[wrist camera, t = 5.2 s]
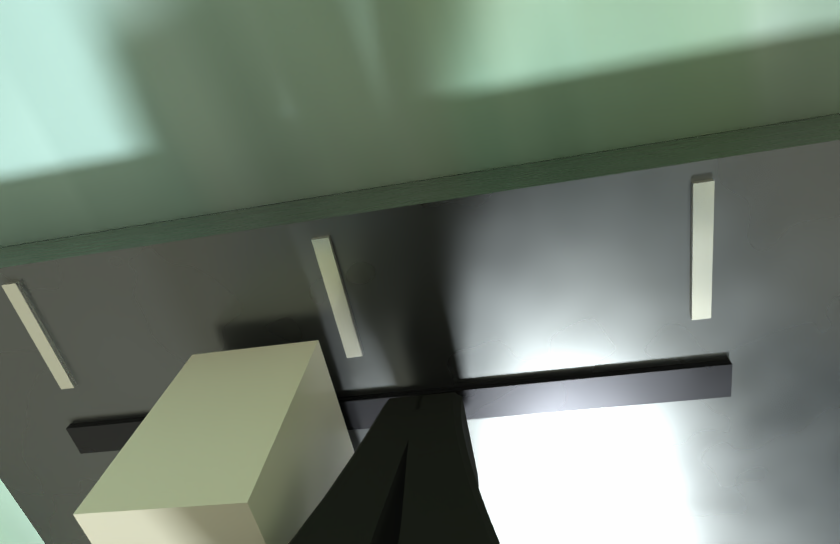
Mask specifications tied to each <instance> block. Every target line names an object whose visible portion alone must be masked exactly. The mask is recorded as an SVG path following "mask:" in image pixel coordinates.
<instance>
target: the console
mask: <svg viewBox="0 0 840 544" xmlns="http://www.w3.org/2000/svg"><path fill="white" fill-rule="evenodd" d="M315 340H319V344H320V347H321V350H322V353H323V356H324V359H325V362H326V365H327V368H328V371H329V375H330V378H331V381H332V384H333V387H334V390H335V393H336V396H337V399H338V403H339V406H340V409H341V412H342V415H343V418H344V421H345V424H346V427H347V430H348V434H349V437H350V440H351V443H352V446H353V449H354V452H355V451H356V449H357V448H358V446H359V445H360V443H361V442H362V440H363V438H364V437H365V435H366V434H367V432H368V430H369V429H370V427H371V426H372V424H373V422H374V421H375V419H376V418H377V416H378V414H379V413H380V411H381V409H382V408H383V406H384V405H385V403H386V402H387V401H388V400H389V399H390V398H398V397H409V396H419V395H430V394H440V393H451V392H455V393H457V394H458V395H460V396H461V397H462V398H463V403H464V408H465V413H466V418H467V423H468V428H469V433H470V438H471V443H472V448H473V453H474V458H475V463H476V468H477V473H478V482H479V491H480V493H481V496H482V499H483V502H484V504H485V507H486V510H487V512H488V515H489V517H490V520H491V522H492V525H493V527H494V530H495V532H496V535H497V537H498V539H499V542H500V544H840V114H836V115H830V116H823V117H817V118H811V119H805V120H798V121H792V122H786V123H780V124H773V125H767V126H761V127H755V128H748V129H742V130H736V131H729V132H723V133H717V134H711V135H704V136H698V137H692V138H686V139H679V140H673V141H667V142H660V143H654V144H648V145H642V146H635V147H629V148H623V149H617V150H610V151H604V152H598V153H591V154H585V155H579V156H573V157H566V158H560V159H554V160H548V161H541V162H535V163H529V164H522V165H516V166H510V167H504V168H497V169H491V170H485V171H479V172H472V173H466V174H460V175H453V176H447V177H441V178H435V179H428V180H422V181H416V182H410V183H403V184H397V185H391V186H384V187H378V188H372V189H366V190H359V191H353V192H347V193H341V194H334V195H328V196H322V197H315V198H309V199H303V200H297V201H290V202H284V203H278V204H272V205H265V206H259V207H253V208H246V209H240V210H234V211H228V212H221V213H215V214H209V215H203V216H196V217H190V218H184V219H177V220H171V221H165V222H159V223H152V224H146V225H140V226H134V227H127V228H121V229H115V230H108V231H102V232H96V233H90V234H83V235H77V236H71V237H65V238H58V239H52V240H46V241H39V242H33V243H27V244H21V245H14V246H8V247H2V248H0V479H1V480H2V482H3V483H4V484H5V486H6V487H7V489H8V490H9V492H10V493H11V495H12V496H13V497H14V499H15V500H16V502H17V503H18V505H19V506H20V508H21V509H22V511H23V512H24V513H25V515H26V516H27V518H28V519H29V521H30V522H31V524H32V525H33V526H34V528H35V529H36V531H37V532H38V534H39V535H40V537H41V538H42V540H43V541H44V542H45V544H91V542H90V540H89V539H88V537H87V536H86V534H85V533H84V531H83V529H82V528H81V526H80V525H79V523H78V522H77V520H76V518H75V517H74V515H73V514H74V512H75V511H76V510H77V508H78V507H79V506H80V504H81V503H82V502H83V500H84V499H85V498H86V496H87V495H88V494H89V492H90V491H91V489H92V488H93V487H94V485H95V484H96V483H97V481H98V480H99V479H100V477H101V476H102V475H103V473H104V472H105V471H106V469H107V468H108V467H109V465H110V464H111V463H112V461H113V460H114V459H115V457H116V456H117V455H118V453H119V452H120V451H121V449H122V448H123V447H124V445H125V444H126V443H127V441H128V440H129V439H130V437H131V436H132V435H133V433H134V432H135V431H136V429H137V428H138V426H139V425H140V424H141V422H142V421H143V420H144V418H145V417H146V416H147V414H148V413H149V412H150V410H151V409H152V408H153V406H154V405H155V404H156V402H157V401H158V400H159V398H160V397H161V396H162V394H163V393H164V392H165V390H166V389H167V388H168V386H169V385H170V384H171V382H172V381H173V380H174V378H175V377H176V376H177V374H178V373H179V372H180V370H181V369H182V368H183V366H184V365H185V363H186V362H187V361H188V359H189V358H190V357H191V355H194V354H203V353H212V352H220V351H229V350H238V349H246V348H255V347H263V346H272V345H281V344H289V343H298V342H307V341H315Z"/></svg>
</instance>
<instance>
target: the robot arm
mask: <svg viewBox="0 0 840 544" xmlns="http://www.w3.org/2000/svg"><path fill="white" fill-rule="evenodd" d="M288 544H500V542H499V539H498V537H497V535H496V532H495V530H494V527H493V525H492V522H491V520H490V517H489V515H488V512H487V510H486V507H485V504H484V502H483V499H482V496H481V493H480V491H479V482H478V473H477V468H476V463H475V458H474V453H473V448H472V443H471V438H470V433H469V428H468V423H467V418H466V413H465V408H464V403H463V398H462V397H461V396H460V395H458V394H457V393H455V392H451V393H440V394H430V395H419V396H409V397H398V398H390V399H389V400H388V401H387V402H386V403H385V405H384V406H383V408H382V409H381V411H380V413H379V414H378V416H377V418H376V419H375V421H374V422H373V424H372V426H371V427H370V429H369V430H368V432H367V434H366V435H365V437H364V438H363V440H362V442H361V443H360V445H359V446H358V448H357V449H356V451H355V452H354V454H353V455H352V457H351V458H350V460H349V461H348V463H347V464H346V466H345V467H344V469H343V470H342V472H341V473H340V475H339V476H338V477H337V479H336V480H335V482H334V483H333V485H332V486H331V488H330V489H329V491H328V492H327V493H326V495H325V496H324V498H323V499H322V500H321V502H320V503H319V504H318V506H317V507H316V508H315V510H314V511H313V512H312V513H311V515H310V516H309V517H308V519H307V520H306V521H305V523H304V524H303V525H302V527H301V528H300V529H299V531H298V532H297V533H296V534H295V536H294V537H293V538H292V540H291V541H290V542H289V543H288Z"/></svg>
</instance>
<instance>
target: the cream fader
mask: <svg viewBox="0 0 840 544" xmlns="http://www.w3.org/2000/svg"><path fill="white" fill-rule="evenodd" d="M353 454H354V449H353V446H352V443H351V440H350V437H349V434H348V430H347V427H346V424H345V421H344V418H343V415H342V412H341V409H340V406H339V403H338V399H337V396H336V393H335V390H334V387H333V384H332V381H331V378H330V375H329V371H328V368H327V365H326V362H325V359H324V356H323V353H322V350H321V347H320V344H319V340H315V341H307V342H298V343H289V344H281V345H272V346H263V347H255V348H246V349H238V350H229V351H220V352H212V353H203V354H194V355H191V357H190V358H189V359H188V361H187V362H186V363H185V365H184V366H183V368H182V369H181V370H180V372H179V373H178V374H177V376H176V377H175V378H174V380H173V381H172V382H171V384H170V385H169V386H168V388H167V389H166V390H165V392H164V393H163V394H162V396H161V397H160V398H159V400H158V401H157V402H156V404H155V405H154V406H153V408H152V409H151V410H150V412H149V413H148V414H147V416H146V417H145V418H144V420H143V421H142V422H141V424H140V425H139V426H138V428H137V429H136V431H135V432H134V433H133V435H132V436H131V437H130V439H129V440H128V441H127V443H126V444H125V445H124V447H123V448H122V449H121V451H120V452H119V453H118V455H117V456H116V457H115V459H114V460H113V461H112V463H111V464H110V465H109V467H108V468H107V469H106V471H105V472H104V473H103V475H102V476H101V477H100V479H99V480H98V481H97V483H96V484H95V485H94V487H93V488H92V489H91V491H90V492H89V494H88V495H87V496H86V498H85V499H84V500H83V502H82V503H81V504H80V506H79V507H78V508H77V510H76V511H75V512H74V514H73V515H74V517H75V518H76V520H77V522H78V523H79V525H80V526H81V528H82V529H83V531H84V533H85V534H86V536H87V537H88V539H89V540H90V542H91V544H288V543H289V542H290V541H291V540H292V538H293V537H294V536H295V534H296V533H297V532H298V531H299V529H300V528H301V527H302V525H303V524H304V523H305V521H306V520H307V519H308V517H309V516H310V515H311V513H312V512H313V511H314V510H315V508H316V507H317V506H318V504H319V503H320V502H321V500H322V499H323V498H324V496H325V495H326V493H327V492H328V491H329V489H330V488H331V486H332V485H333V483H334V482H335V480H336V479H337V477H338V476H339V475H340V473H341V472H342V470H343V469H344V467H345V466H346V464H347V463H348V461H349V460H350V458H351V457H352V455H353Z"/></svg>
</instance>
